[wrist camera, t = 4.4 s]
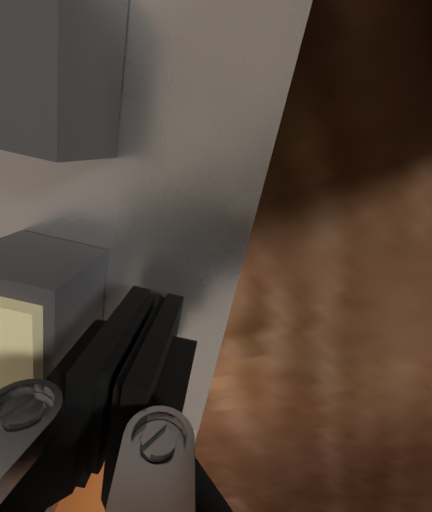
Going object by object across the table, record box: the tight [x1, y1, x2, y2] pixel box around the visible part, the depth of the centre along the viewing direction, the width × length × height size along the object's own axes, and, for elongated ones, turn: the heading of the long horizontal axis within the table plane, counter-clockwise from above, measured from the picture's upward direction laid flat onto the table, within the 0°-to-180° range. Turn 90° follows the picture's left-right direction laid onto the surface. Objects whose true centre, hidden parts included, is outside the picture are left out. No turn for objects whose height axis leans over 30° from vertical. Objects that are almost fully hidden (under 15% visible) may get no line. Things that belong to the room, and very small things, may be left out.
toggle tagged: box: [0, 230, 108, 389], centre depth 9 cm, size 3×4×3 cm
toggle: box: [0, 0, 129, 163], centre depth 7 cm, size 3×4×3 cm
